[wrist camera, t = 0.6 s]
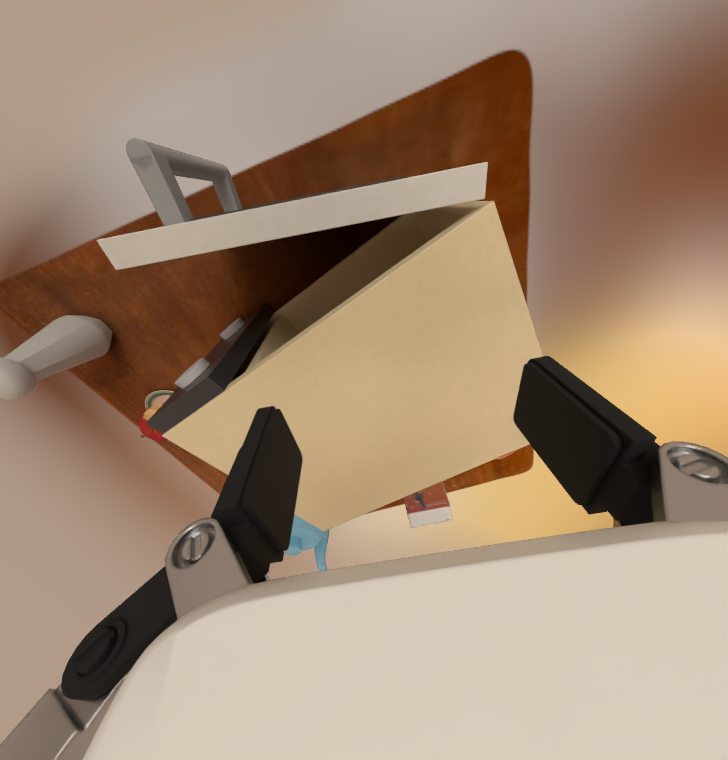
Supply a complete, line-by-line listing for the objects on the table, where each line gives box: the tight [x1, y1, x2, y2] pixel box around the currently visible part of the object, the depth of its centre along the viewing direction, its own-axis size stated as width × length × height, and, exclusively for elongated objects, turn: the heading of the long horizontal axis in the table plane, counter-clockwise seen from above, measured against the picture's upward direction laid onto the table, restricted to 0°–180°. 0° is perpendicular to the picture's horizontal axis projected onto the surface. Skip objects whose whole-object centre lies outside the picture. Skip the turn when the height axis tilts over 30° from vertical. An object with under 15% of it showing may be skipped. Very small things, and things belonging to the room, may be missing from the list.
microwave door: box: [97, 138, 488, 270], centre depth 21 cm, size 6×22×18 cm, turn 99°
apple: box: [139, 390, 174, 441], centre depth 41 cm, size 8×8×6 cm
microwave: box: [146, 201, 543, 531], centre depth 31 cm, size 24×30×18 cm
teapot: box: [284, 514, 329, 571], centre depth 50 cm, size 16×20×14 cm
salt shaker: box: [0, 315, 113, 400], centre depth 30 cm, size 6×6×13 cm
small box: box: [404, 481, 452, 528], centre depth 52 cm, size 8×6×10 cm
